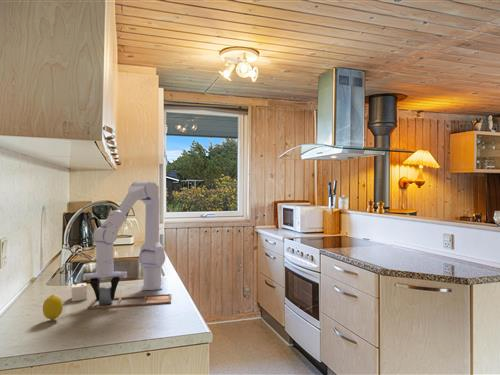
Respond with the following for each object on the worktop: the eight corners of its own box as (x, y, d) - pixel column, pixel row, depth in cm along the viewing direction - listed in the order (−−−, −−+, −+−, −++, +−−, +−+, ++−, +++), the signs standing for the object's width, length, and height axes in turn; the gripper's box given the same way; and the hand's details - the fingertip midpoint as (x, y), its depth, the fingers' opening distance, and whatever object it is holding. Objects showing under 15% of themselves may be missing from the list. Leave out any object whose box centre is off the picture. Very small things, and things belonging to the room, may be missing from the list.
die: (71, 297, 140) (71, 284, 140) (86, 295, 142) (86, 282, 142) (71, 301, 135) (71, 287, 135) (86, 299, 137) (86, 285, 137)
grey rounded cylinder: (100, 301, 134) (100, 286, 134) (113, 300, 134) (113, 285, 134) (97, 305, 129) (97, 289, 129) (111, 304, 130) (110, 288, 130)
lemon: (40, 324, 112) (40, 298, 112) (45, 318, 118) (45, 293, 118) (60, 322, 114) (60, 296, 114) (64, 316, 119) (64, 291, 119)
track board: (94, 300, 136) (94, 298, 136) (171, 295, 141) (171, 293, 141) (87, 309, 126) (87, 307, 126) (170, 303, 131) (170, 301, 131)
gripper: (80, 264, 127) (80, 303, 127) (124, 261, 129) (125, 300, 129) (85, 260, 134) (86, 297, 134) (127, 258, 136) (127, 295, 136)
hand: (105, 298), depth 132 cm, fingers closed on grey rounded cylinder, 4 cm apart
